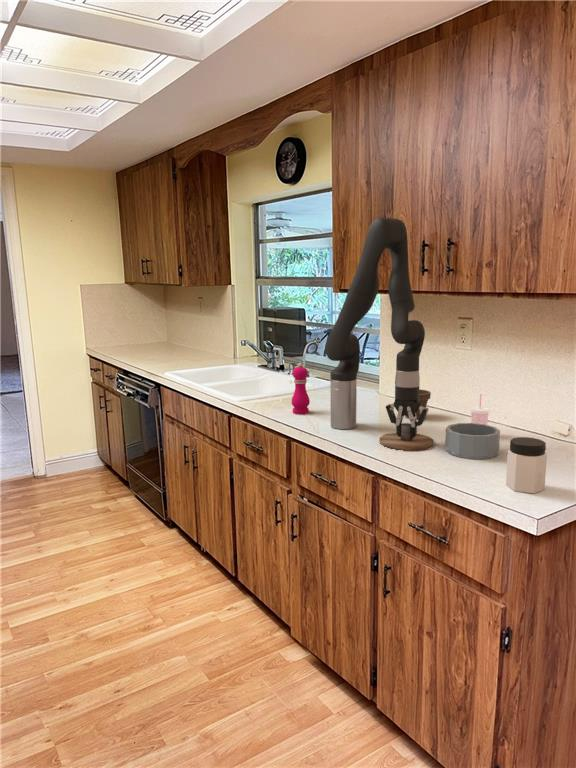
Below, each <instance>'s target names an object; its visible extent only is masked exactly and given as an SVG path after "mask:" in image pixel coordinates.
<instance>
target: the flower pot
mask: <svg viewBox="0 0 576 768" xmlns="http://www.w3.org/2000/svg"><path fill="white" fill-rule="evenodd" d="M431 394H432V393H431V391H429V390H426V389H420V388H419V403H420V405H421V406H422V407H424V408H426V407H427V404H428V402H429V400H431ZM420 415H421V413H420V409H418V411H417V412H416V417H417V418H416V419H417V420H419V417H420ZM405 417H406V419H409V417H408V416H405Z"/></svg>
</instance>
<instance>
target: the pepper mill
mask: <svg viewBox="0 0 576 768" xmlns="http://www.w3.org/2000/svg"><path fill="white" fill-rule="evenodd" d="M308 376H309V372H308V369H307V368H305V366H303V363H301V362H299V363H298V364H297V367H294V368H293V370H292V377H293V378H294V379H293V383H294V392H293V394H292V397H291V405H292V406H293V408H292V414H294V415H307V414H309V409H310V408H309V407H308V406H309V405H310V403H311V399H310V397H309V394H308V392H307V388H306V386H307V385H306V383H307V377H308Z"/></svg>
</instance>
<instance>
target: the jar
mask: <svg viewBox="0 0 576 768" xmlns="http://www.w3.org/2000/svg"><path fill="white" fill-rule="evenodd" d="M509 440H510V441H509V449H508V450H507V461H506V479H505V485H506V486H507V487H509V489H511V490H512V491H513V492H517V493H518V492H519V493H525V494H536V493H539V492H542V491H545V488H546V487H545V486H546V473H547V459H548V453H546V449H547V448H546V447H547V445H546V442H545V441H544V440H542V439H539V438H535V437H527V436H517V437H513V438H511V439H509Z"/></svg>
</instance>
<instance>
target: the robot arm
mask: <svg viewBox="0 0 576 768" xmlns="http://www.w3.org/2000/svg"><path fill="white" fill-rule="evenodd" d="M363 243H364V244H363V247H362V252H361V254H360V259H359V261H358V264H357V267H356V270H355V273H354V275H353V277H352V281H351V283H350V284H349V285H350V286H349V288H348V290H347V293H346V297H345V299H344V302H343V305H342V307H341V310H340V312H339V313H338V316H337V319H336V321H335V323H334V325H333V327H332V328H331V331H330V333H329V334H328V337H327V340H326V343H325V354H326V355H325V356H326V357H327V358H328V360H331V361H334V362H338V361H339V363H338V364H337V366H336V367H335V368H333V369H332V370H331V372H330V374H329V375H330V377H329V378H330V427H331V428H333V429H338V430H348V429H350V430H351V429H354V428H356V427H357V387H358V386H357V382H358V381H357V380H358V379H357V378H358V377H357V376H358V373H359V371H360V355H361V347H360V340H359V339H358V337H357V336H356V335H355V334H354V333H352V332H353V330H354V329H355V327H356V326H357V325H358V323H359V322H360V321H361V320H362V319H364V317H365V316H366V315H367V314H368V313H369V311H370V310H371V309H372V307H373V305H374V302H375V300H376V298H377V295H378V292H379V288H380V280H379V273H378V272H379V271H378V268H379V262H380V259H381V257H382V255H383V252H384V250H386V249H388V251H389V253H390V258H391V269H390V270H391V271H390V275H389V280H388V285H387V287H388V289H387V290H388V296H389V297H388V298H389V302H390V306H391V318H390V319H391V320H390V333H391V336H392V338H393V340H394V341H395V343H396V344H399V345H404V347H403V349H402V350H401V351H399V352H397V354H396V360H395V362H396V363H395V364H396V365H395V366H396V367H395V370H396V371H395V377H394V389H395V391H394V402H393V403H388V404H386V405H385V409H386V412H387V416H388V419H389V421H390V423H391V424H394V425H395V427H396V429H395V430H396V431H395V433H396V434H397V435H398V437H401V424H402V423H403V420H404V417H406V416H408V417H409V418H408V419H409V421H410V422H409V423H410V424H411V426H412V427H411V438H412V439H413V438H414V437H415V436H416V435H417V434H418V427H420V426H422V425H423V424H424V422H425V419H426V418H427V414H428V412H429V407H427V406H426V408H424V407H422V406H421V405H420V403H419V389H420V385H421V383H420V380H421V379H420V377H421V376H420V356H421V353H422V349H423V345H424V342H425V338H426V334H425V333H426V331H425V327H424V325H423V323H422V322H421V321H419V320H416V319H414V320H409V314H410V313H412V312H413V311H414V310H415V300H414V295H413V290H412V284H411V280H410V268H409V267H410V266H409V265H410V264H409V251H408V250H409V248H408V244H409V243H408V232H407V227H406V225H405V223H404V222H403V221H402V219H399V218H393V217H391V218H390V217H377V218H375V219H374V220H372V222H371V223H370V225H369V227H368V230H367V233H366V236H365V240H364V242H363ZM418 409H420V413H421V415H420V417H419V419H416V418H417V417H416V412H417V411H418ZM394 410H396V411H397V415H396V413H395V411H394Z"/></svg>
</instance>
